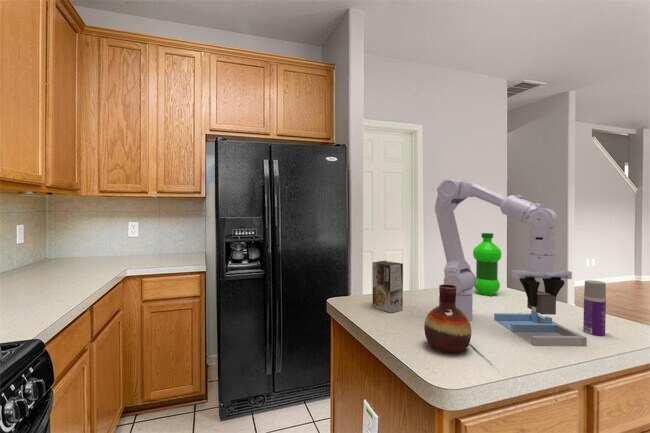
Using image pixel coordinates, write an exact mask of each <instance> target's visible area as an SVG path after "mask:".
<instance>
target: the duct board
mask: <svg viewBox="0 0 650 433" xmlns="http://www.w3.org/2000/svg"><path fill="white" fill-rule="evenodd" d="M530 312H531V313H525V312H524V313H521V312H520V313H518V312H517V313H514V312H513V313H509V312H508V313H505V312H502V313H501V312H500V313H499V312H497V313H496V312H494V313H493V314H494V315H493V321H495V322H496V323H498V324H500V325H501V326H503V327H504V328H505V329H507V330H509V331H510V332H512V333H513V334H515V335H516V336H518V337H520V338H521V339H522V340H524V341H526V342H527V343H528V344H530V345H531V346H535V347H538V346H539V347H541V346H542V347H587V345H588V343H587V341H588V340H587V338H588V337H586V336H584V335H582V334H579V332H575V331H573V330H572V329H569V328H567V327H565V326H563V325H561V324H559V323H557V322H555V321H554V320H553V317H550V316H549V315H548V316H547V315H545V316H543V315H542V314H540V313H537V312H535V311H533V310H531V309H530Z"/></svg>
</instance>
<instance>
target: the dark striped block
mask: <svg viewBox="0 0 650 433" xmlns="http://www.w3.org/2000/svg"><path fill="white" fill-rule="evenodd" d="M526 302H527V305H526V308H528V309H529V310H530V311H531V310H533V311H535V312H537V313H538V314H539V315H545V316H547V315H548V316H549V315H557V314H556V313H557V297H555V296H552V295H551V294H549V293H545V291H541V290H538V292H537V305H536V307H533V306H531V305H529V302H528V298H527V301H526Z"/></svg>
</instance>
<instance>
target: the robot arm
mask: <svg viewBox="0 0 650 433" xmlns="http://www.w3.org/2000/svg"><path fill="white" fill-rule="evenodd" d="M436 193H437V195H436V199H435V205H434V212H435V215H436V220H437V225H438V230H439V235H440V238H441V242H442V247H443V252H444V256H445V260H446V263H445V266H444V268H443V272H444V276H443V277H444V278H443V284H447V285H454V286H456V287H457V291H456V308H458V309H460V310H461V311H462V312H463V313H464V314H465V315H466V316H467V318H468V320H469V322H470V323H471V322H472V321H473V299H474V298H473V294H474V293H473V288H475V287H474V286H475V284H476V275H475V273H474V272H473V271H472V268H471V265H470V264H469V263H468V261H466V259H465V255H464V250H463V246H462V242H461V238H460V233H459V229H458V224H457V221H456V217H455V213H454V212H455V209H456V208H457V207H458V206H459V204H461V203H462V202H463V201H465V200H466V199H468V198H477V199H479V200H481V201H482V200H483V201H484V202H487V203H489V204H491V205H494V206H497V207H499V209H500V211H501V213H502V214H503V215H505V216H508V217H510V218H512V219H514V220H516V221H518V222H521V223H523V224H526V225H527V226H528V227H529V237H528V238H529V239H528V241H529V245H528V246H529V247H528V268H524V269H511V278H514V279H515V280H517V279H518V280H519V282H520V284H521V285H522V287H523V289H524V292H525V294H526V298H527V299H528V302H529V305H531V306H533V307H536V305H537V292H538V291H539V287H540V285H541V282H540V281H537V279H542V282H543V287H544V292H545V293H549V294H551V295H552V296H555V297H556V298H557V296H558V294H559V292H560V291H561V289H562V288H563V287H564V285H565V279H566V280H572V278H573V271H571V270H563V269H560V270H557V269H556V227H555V226H557V224H558V222H559V217H558V215H557V213H556V212H555V211H554V210H552V209H551V208H550V207H541V206H542V204H541V203H538V202H536V203H533V202H531V201H529V200H526V199H524V196H523V195H520V194H516V195H513V194H512V195H508V196H505V195H502V194H500V193H498V192H495V191H493V190H491V189H489V188H488V187H485V186H483V185H481V184H478V183H475V182H471V181H467V180H465V179H457V178H456V179H455V178H452V177H448V178H445V179H444V180H442V181H441V183H440V184H439V185H438V187H437V188H436ZM563 279H564V280H563ZM439 305H440V294H439V296H438V306H439Z"/></svg>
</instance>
